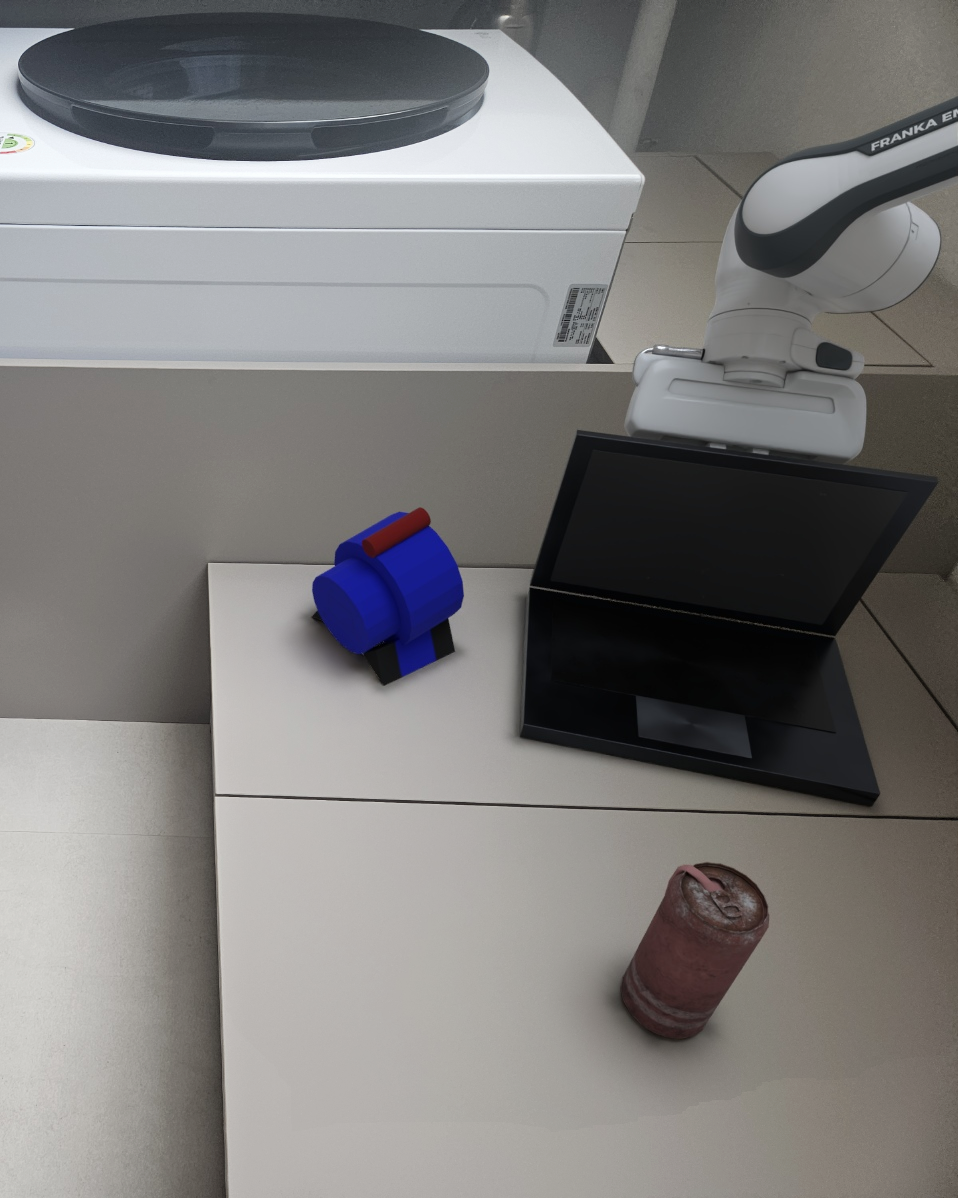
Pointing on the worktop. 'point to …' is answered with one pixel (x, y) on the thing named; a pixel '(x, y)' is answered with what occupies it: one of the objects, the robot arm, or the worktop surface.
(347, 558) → the alarm clock
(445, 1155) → the worktop surface
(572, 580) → the laptop screen
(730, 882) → the can
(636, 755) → the laptop
